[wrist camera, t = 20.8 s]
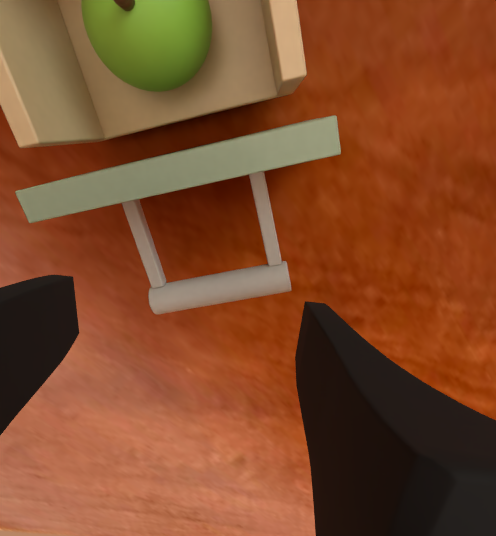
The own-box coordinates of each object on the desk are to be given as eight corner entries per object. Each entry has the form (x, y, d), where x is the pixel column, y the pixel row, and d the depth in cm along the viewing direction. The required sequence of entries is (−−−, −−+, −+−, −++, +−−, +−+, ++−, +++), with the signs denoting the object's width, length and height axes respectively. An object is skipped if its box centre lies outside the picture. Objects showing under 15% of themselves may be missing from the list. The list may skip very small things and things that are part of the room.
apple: (240, 24, 15) (227, -29, 10) (181, 118, 16) (144, 114, 11) (149, -58, 14) (82, -163, 9) (95, 49, 15) (12, 12, 10)
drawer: (329, 249, 19) (359, 306, 13) (140, 285, 21) (88, 351, 15) (263, -222, 13) (260, -545, 7) (-10, -121, 14) (-219, -309, 8)
